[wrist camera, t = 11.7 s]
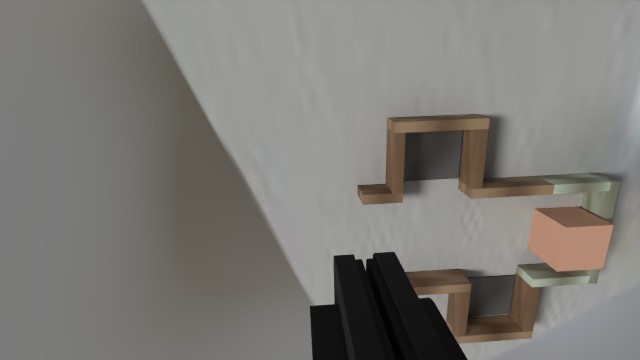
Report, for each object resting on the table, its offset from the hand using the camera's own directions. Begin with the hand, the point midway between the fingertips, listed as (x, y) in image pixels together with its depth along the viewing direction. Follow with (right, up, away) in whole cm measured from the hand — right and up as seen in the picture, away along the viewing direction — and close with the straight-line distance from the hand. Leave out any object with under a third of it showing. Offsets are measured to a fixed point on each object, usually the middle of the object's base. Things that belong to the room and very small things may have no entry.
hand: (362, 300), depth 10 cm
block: (+25, -2, +31) cm, 40 cm away
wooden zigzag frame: (+16, -2, +30) cm, 34 cm away
